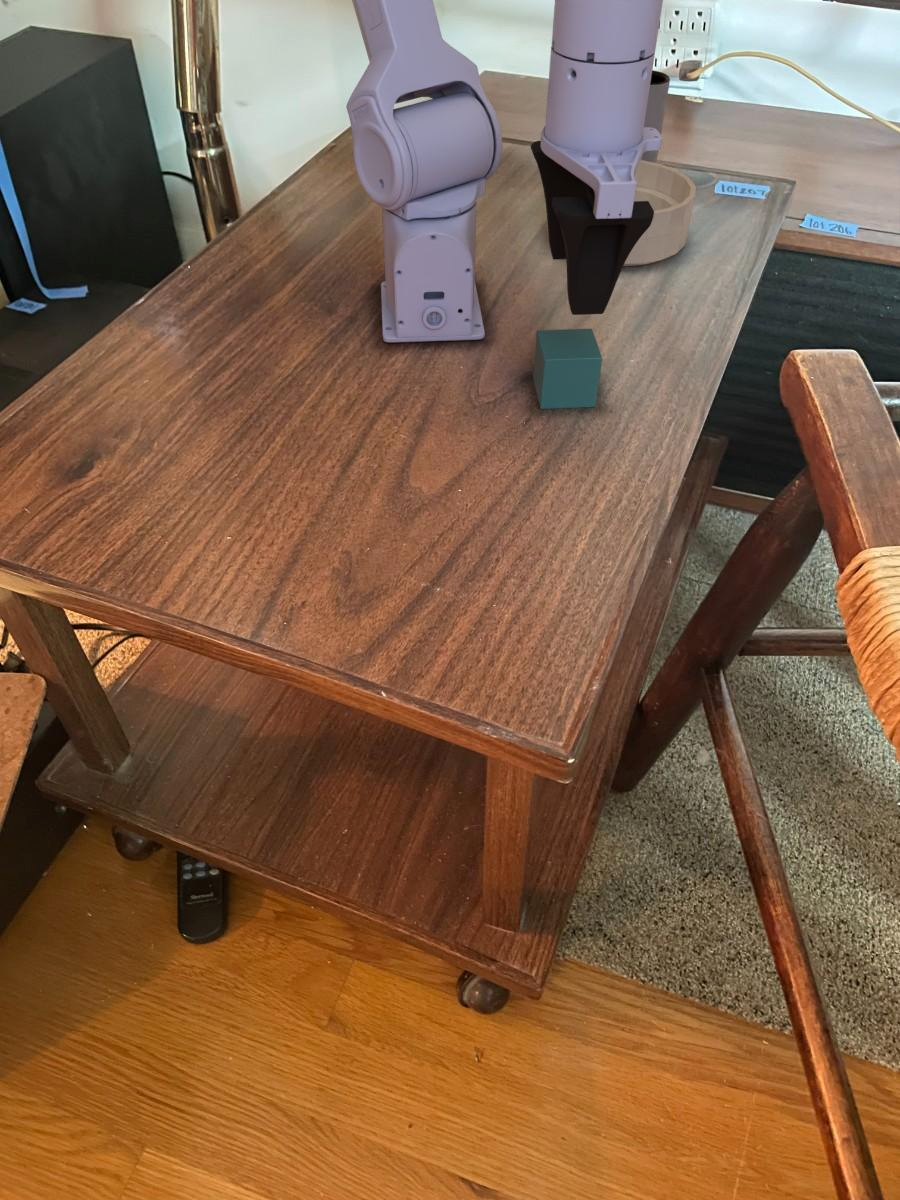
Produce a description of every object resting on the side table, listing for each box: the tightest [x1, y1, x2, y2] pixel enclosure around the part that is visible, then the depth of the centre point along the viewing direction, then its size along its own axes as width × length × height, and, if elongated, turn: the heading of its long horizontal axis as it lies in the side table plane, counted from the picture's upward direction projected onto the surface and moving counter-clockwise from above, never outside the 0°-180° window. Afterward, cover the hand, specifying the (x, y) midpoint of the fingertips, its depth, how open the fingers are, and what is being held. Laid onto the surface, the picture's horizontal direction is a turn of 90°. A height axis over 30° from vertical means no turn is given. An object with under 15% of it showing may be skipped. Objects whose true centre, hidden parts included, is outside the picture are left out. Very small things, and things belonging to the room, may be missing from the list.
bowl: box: [623, 160, 697, 267], centre depth 81 cm, size 13×13×5 cm
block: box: [532, 328, 603, 410], centre depth 63 cm, size 4×4×4 cm
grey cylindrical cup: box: [641, 69, 671, 163], centre depth 87 cm, size 4×4×10 cm
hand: (576, 283), depth 59 cm, fingers open, 7 cm apart
